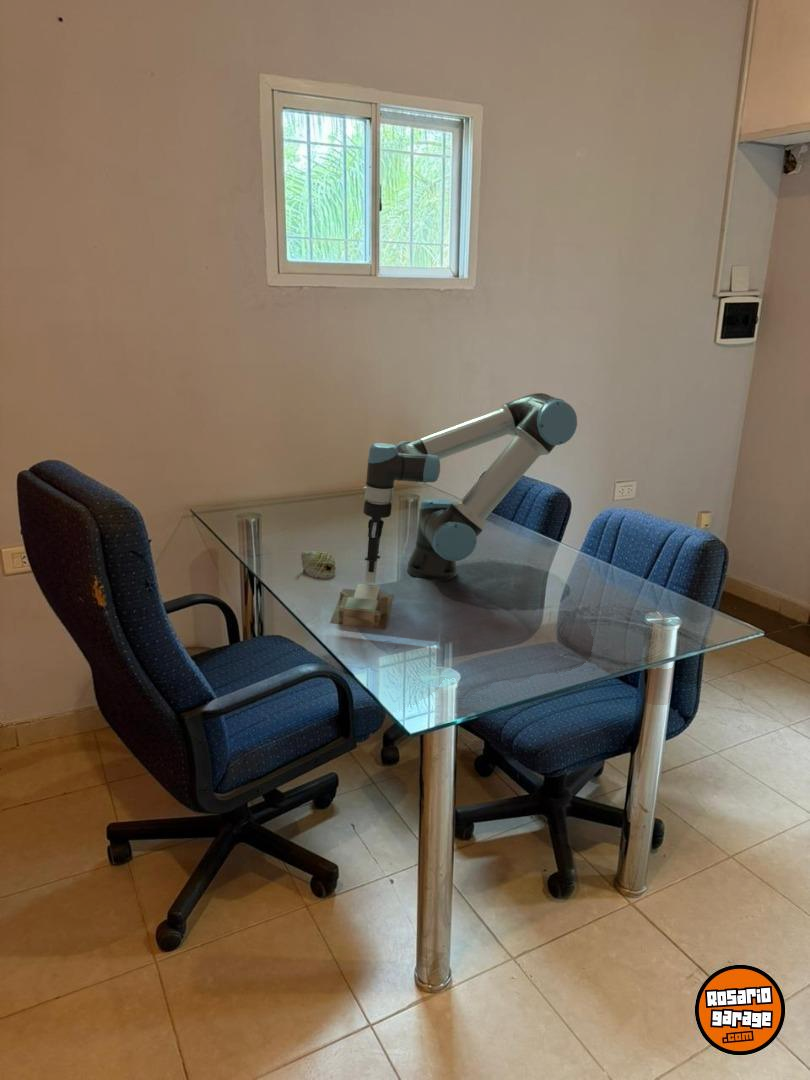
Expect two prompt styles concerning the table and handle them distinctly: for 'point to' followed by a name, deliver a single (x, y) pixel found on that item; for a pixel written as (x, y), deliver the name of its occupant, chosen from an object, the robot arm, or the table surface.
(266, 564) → the table surface
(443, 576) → the robot arm
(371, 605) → the dock
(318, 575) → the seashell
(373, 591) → the tile
